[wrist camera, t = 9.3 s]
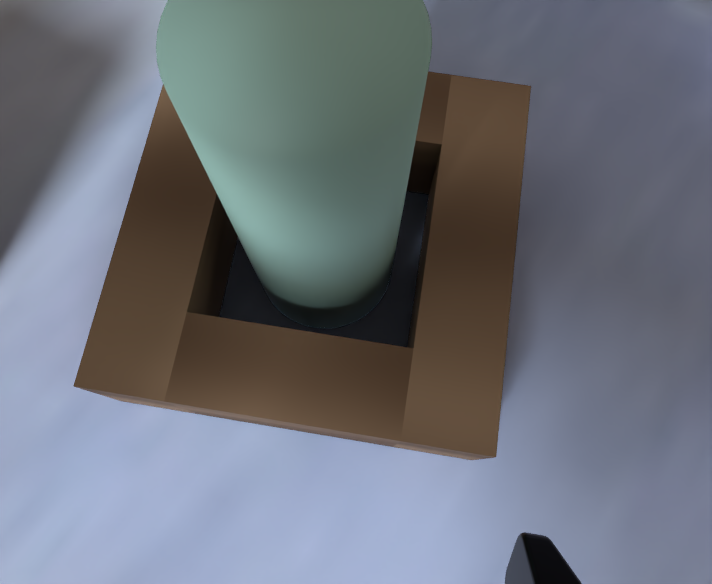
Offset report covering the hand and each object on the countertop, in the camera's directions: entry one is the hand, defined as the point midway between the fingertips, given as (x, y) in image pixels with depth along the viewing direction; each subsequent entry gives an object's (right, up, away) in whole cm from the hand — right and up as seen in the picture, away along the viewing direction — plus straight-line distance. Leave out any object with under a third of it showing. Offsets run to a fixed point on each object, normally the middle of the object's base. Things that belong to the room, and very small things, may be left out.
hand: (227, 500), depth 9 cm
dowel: (+1, +4, +9) cm, 10 cm away
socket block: (+1, +4, +9) cm, 10 cm away
